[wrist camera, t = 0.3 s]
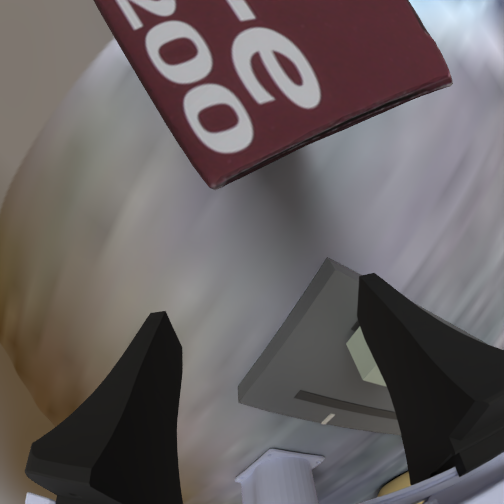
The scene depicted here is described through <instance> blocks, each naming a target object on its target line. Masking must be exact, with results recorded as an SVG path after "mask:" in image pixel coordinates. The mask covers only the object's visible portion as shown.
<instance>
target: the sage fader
mask: <svg viewBox="0 0 504 504" xmlns="http://www.w3.org/2000/svg"><path fill="white" fill-rule="evenodd" d="M346 345H347V347H348V349H349V351H350V353H351V356H352V358H353V360H354V362H355V364H356V366H357V369H358V371H359V373H360V375H361V377H362V379H363V380H364V381H368V382H371V383H375V384H378V385H382V386H386V384H385V381H384V379H383V377H382V375H381V373H380V371H379V369H378V366H377V364H376V362H375V360H374V358H373V356H372V354H371V352H370V350H369V347H368V345H367V343H366V341H365V339H364V336H363V333H362V330H361V327H360V326H359V328H358V329H357V330H356V332H355V333H354V334H353V335H352V337H351V338H350V339H349V341H348V342H347V343H346ZM386 387H387V386H386Z"/></svg>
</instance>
